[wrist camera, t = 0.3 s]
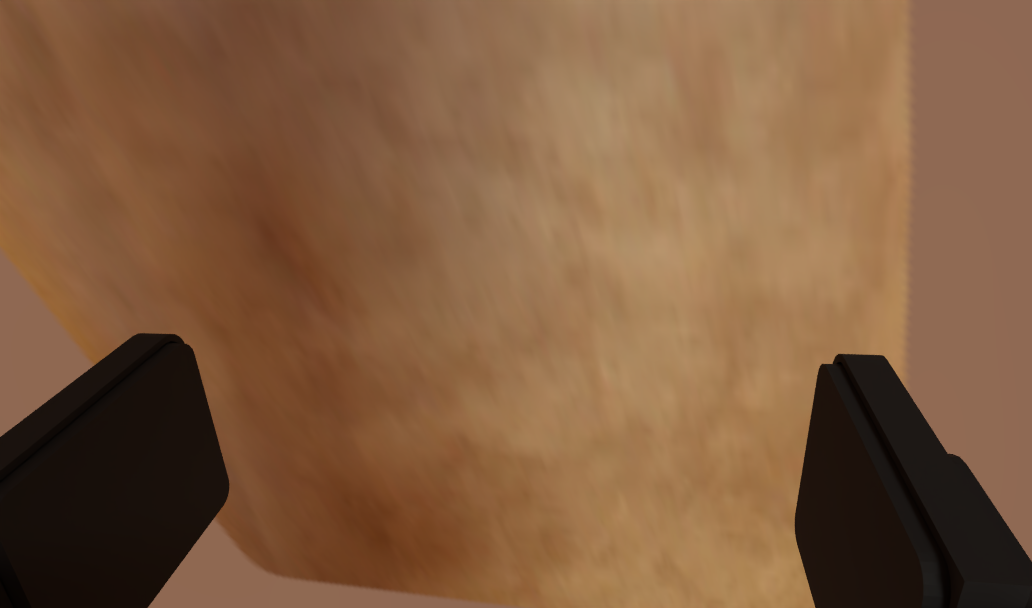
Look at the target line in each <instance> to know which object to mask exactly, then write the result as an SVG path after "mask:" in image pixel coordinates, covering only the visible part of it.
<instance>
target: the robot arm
mask: <svg viewBox="0 0 1032 608" xmlns="http://www.w3.org/2000/svg"><path fill="white" fill-rule="evenodd" d="M228 493H229V479H228V475H227V472H226V468H225V464H224V461H223V457H222V453H221V450H220V446H219V442H218V439H217V435H216V431H215V428H214V424H213V420H212V417H211V413H210V409H209V406H208V402H207V398H206V395H205V391H204V387H203V384H202V380H201V376H200V373H199V369H198V365H197V362H196V358H195V354H194V352H193V349H192V348H191V347H190V346H189V345H187V344H184V341H183V340H182V339H181V338H180V337H179V336H177V335H175V334H147V333H140V334H136V335H134V336H133V337H131V338H130V339H129V340H127V341H126V342H125V343H123V344H122V345H121V346H119V347H118V348H117V349H115V350H114V351H113V352H112V353H110V354H109V355H108V356H106V357H105V358H104V359H102V360H101V361H100V362H98V363H97V364H96V365H94V366H93V367H92V368H90V369H89V370H88V371H87V372H85V373H84V374H83V375H81V376H80V377H79V378H77V379H76V380H75V381H74V382H72V383H71V384H69V385H68V386H67V387H66V388H64V389H63V390H62V391H60V392H59V393H58V394H56V395H55V396H54V397H52V398H51V399H50V400H48V401H47V402H46V403H44V404H43V405H42V406H41V407H39V408H38V409H37V410H35V411H34V412H33V413H31V414H30V415H29V416H27V417H26V418H25V419H23V421H21V422H20V423H18V424H17V425H16V426H14V427H13V428H12V429H10V430H9V431H8V432H6V433H5V434H4V435H2V436H1V437H0V608H148V606H149V605H150V604H151V602H152V601H153V600H154V598H155V597H156V596H157V594H158V593H159V592H160V590H161V589H162V588H163V586H164V585H165V583H166V582H167V581H168V579H169V578H170V577H171V575H172V574H173V573H174V571H175V570H176V569H177V567H178V566H179V565H180V563H181V562H182V561H183V559H184V558H185V557H186V555H187V554H188V552H189V551H190V550H191V548H192V547H193V545H194V544H195V543H196V542H197V540H198V539H199V538H200V536H201V535H202V534H203V532H204V531H205V529H206V528H207V527H208V525H209V524H210V523H211V521H212V520H213V519H214V517H215V516H216V515H217V513H218V512H219V511H220V509H221V508H222V507H223V505H224V503H225V502H226V499H227V497H228ZM795 535H796V541H797V545H798V549H799V552H800V555H801V559H802V562H803V566H804V569H805V573H806V576H807V580H808V583H809V587H810V590H811V594H812V597H813V601H814V604H815V608H1032V562H1031V560H1030V558H1029V557H1028V555H1027V554H1026V553H1025V551H1024V550H1023V548H1022V547H1021V545H1020V544H1019V542H1018V541H1017V539H1016V538H1015V536H1014V535H1013V533H1012V532H1011V530H1010V529H1009V527H1008V526H1007V524H1006V523H1005V521H1004V520H1003V518H1002V517H1001V515H1000V514H999V512H998V511H997V509H996V508H995V506H994V505H993V503H992V502H991V500H990V499H989V498H988V496H987V494H986V493H985V491H984V490H983V488H982V487H981V485H980V484H979V482H978V481H977V479H976V478H975V476H974V475H973V473H972V472H971V470H970V469H969V467H968V466H967V464H966V463H965V462H964V461H963V460H962V459H961V458H960V457H958V456H956V455H953V454H947V452H946V451H945V449H944V447H943V446H942V444H941V443H940V441H939V440H938V438H937V437H936V435H935V433H934V432H933V430H932V429H931V427H930V426H929V424H928V423H927V421H926V419H925V418H924V416H923V415H922V413H921V412H920V410H919V409H918V407H917V405H916V404H915V403H914V401H913V399H912V398H911V396H910V395H909V393H908V392H907V390H906V388H905V387H904V385H903V384H902V382H901V381H900V379H899V378H898V376H897V374H896V373H895V371H894V370H893V368H892V367H891V365H890V364H889V362H888V360H887V359H886V358H885V357H884V356H882V355H856V354H838V355H837V356H836V357H835V359H834V361H833V364H822V365H821V366H820V368H819V371H818V376H817V382H816V388H815V394H814V401H813V407H812V413H811V419H810V426H809V432H808V438H807V444H806V451H805V457H804V463H803V470H802V476H801V482H800V488H799V495H798V501H797V507H796V513H795Z"/></svg>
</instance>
